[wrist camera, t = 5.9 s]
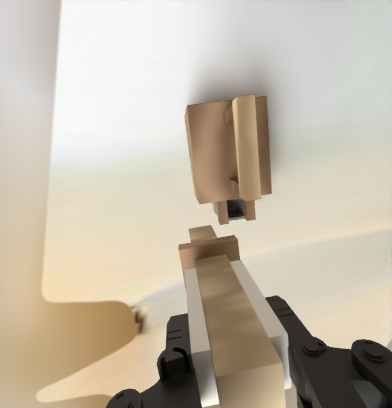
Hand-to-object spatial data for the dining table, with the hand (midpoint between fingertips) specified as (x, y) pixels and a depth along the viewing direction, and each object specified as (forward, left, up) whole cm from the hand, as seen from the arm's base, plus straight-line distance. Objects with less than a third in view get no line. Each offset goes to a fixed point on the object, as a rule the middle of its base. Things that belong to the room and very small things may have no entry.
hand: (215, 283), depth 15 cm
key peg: (0, 0, -9) cm, 9 cm away
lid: (-7, -6, -23) cm, 25 cm away
